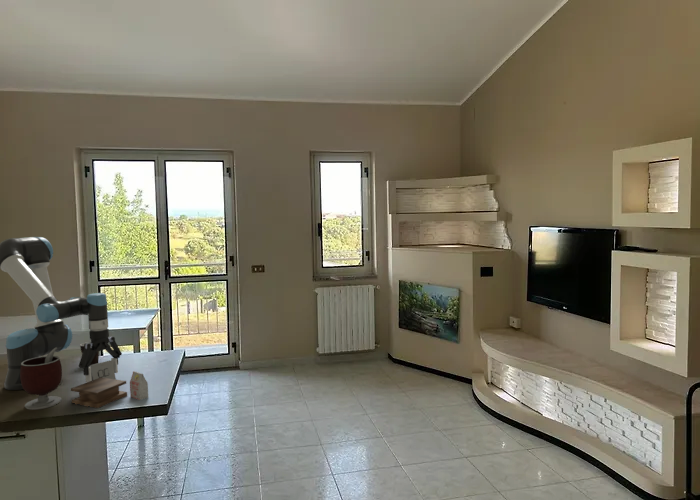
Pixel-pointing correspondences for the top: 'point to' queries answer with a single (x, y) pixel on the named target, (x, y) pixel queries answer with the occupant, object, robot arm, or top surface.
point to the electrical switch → (103, 370)
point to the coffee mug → (96, 357)
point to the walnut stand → (99, 392)
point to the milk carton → (138, 386)
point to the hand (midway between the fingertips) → (102, 377)
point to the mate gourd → (41, 380)
